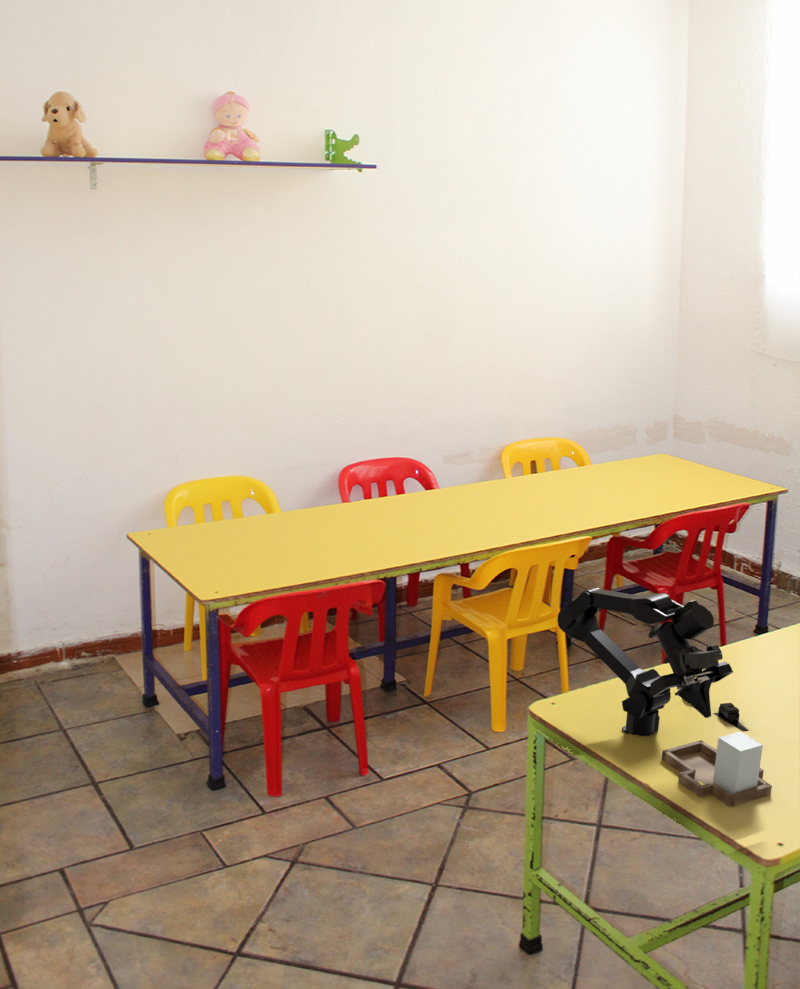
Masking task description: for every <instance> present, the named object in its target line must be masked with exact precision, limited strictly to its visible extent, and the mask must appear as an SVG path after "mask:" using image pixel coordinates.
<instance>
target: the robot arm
mask: <svg viewBox="0 0 800 989" xmlns="http://www.w3.org/2000/svg"><path fill="white" fill-rule="evenodd" d="M600 609H601V610H607V611H613V612H617V613H623V614H627V615H631V616H632V617H633V618H634V619H635V620H637V621H639V622H642V623H645V624H647V625H651V627H650V628H651V629H650V631H649V633H648V638H649V639H653V638H657V639H658V642H659V644H660V647H661V649H662V650H663V653H664V655H665V658H664V659H663V662H664V664H666V665H667V664H669V667H670V668H671V670H672V673H669V674H663V675H660V673H658V671H657V670H656V669H655V668H650V669H648V670H643V669H642V668H640V667H639V666H638V664H636V662H634V661H633V660H632V658H631V657H629V656H628V654H626V653H625V652H624V651H623V650H622V649H621V648H620V647H619V646H618V645H617V644H616V643H615V642H614V641H613V640H612V639H611V638H610V637H609V636H608V635H607V634H606V633H605V632H604V631H603V630H602V629H601V628H600V625H599V621H598V617H597V616H596V615H597V614H598V613H599V611H600ZM670 620H671V621H670ZM656 623H660V624H656ZM714 623H715V619H714V616H713V614H712V612H711V611H710V610H709V609H708V608H707V607H705V606H704V605H702V604H700V603H698V601H697V600H696V599H693V600H690V601H688V602H687V603H685V605H682V604H680V603H678V602H677V601H675V600H673V599H671V596H670V595H669V594H667V593H664V592H663V593H661V592H660V593H648V594H641V595H640V594H639V595H637V594H631V593H624V592H619V591H614V590H607V589H602V588H600V587H592V588H589V589H585V590H583V591H581V593H580V594H579V595H577V597H576V598H575V599H574V600H572V602H570V603H569V604H568V605H567V606H566V607H564V608H563V609H561V610H560V611H559V612H558V613H557V626H558V628H559V629H560V630H561V631H562V632H563V633H564V634H566V635H567V636H568V637H570V638H572V639H574V640H577V641H579V642H582V643H584V644H585V645H586V646H587V647H588V648H589V649H590V650H591V651H592V652H593V653H594V654H595V655H596V656H597V657H598V658H599V660H600V661H602V662H603V663H604V664H605V665H606V667H608V669H610V670H611V671H612V672H613V673H614V675H616V676H617V677H618V678H619V679H620V681H622V683H623V684H624V685H625V689H626V692H627V698H626V699H624V700H622V701H621V705H622V710H623V712H626V719H625V720H626V723H625V726H621V730H622V731H623V732H624V733H625V734H626V735H633V736H640V737H648V736H651V735H653V734H654V733H656V732H658V731H659V729H660V728H659V726H660V718H661V716H660V715H659V713H660V711H659V710H662V709H664V707H665V706H666V705H667V704H669V703H670V701H671V696H672V693H671V688H676V690H677V691H676V692H675V693H674V696H676V697H677V696H678V697H680V698H681V699H683V700H684V701H685V702H686V703H687V704H689V705H690V706H691V707H692V708H694V709H695V710H696V711H697V712H698V713H699V714H701V715H702V716H703V718H705V719H709V718H710V717H712V710H711V709H712V708H711V700H710V699H711V698H710V689H711V686H712V684H715V683H717V682H720V681H721V680H723V679H725V678H726V677H728V676H730V675H731V674H733V673H734V671H733V669H732V666H731V664H730V663H729V662H727V661H722V662H719V661H721V660H723V658H724V657H723V653H722V650H721V648H720V647H719V645H718V644H711V645H708V646H706V650H704V651H699V648H698V647H697V646H696V645H692V646H691V643H690V641H689V640H693V639H696V638H697V637H698V636H700V635H702V634H703V633H706V632H707V631H709V630H710V629H711V628H713V627H714V625H715V624H714ZM654 624H655V625H654Z"/></svg>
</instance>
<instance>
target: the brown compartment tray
mask: <svg viewBox="0 0 800 989" xmlns="http://www.w3.org/2000/svg"><path fill="white" fill-rule="evenodd" d="M661 752H662V754H661V760H662V761H663V762H665V763H666V764H668V765H670V766H671V767H672V768H674V769H675V770H677V771H678V772H679V773H678V782H677V783H680V785H682V786H684V787H685V788H686V789H687V790H689V791H691V792H692V793H693V794H695V795H696V796H698V797H699V798H700V799H702V798H705V797H710V796H713V797H715V798H716V799H718V800H719V801H721V802H722V803H724V804H725V805H726V806H728V807H729V808H732V807H733V808H734V807H735V806H739V805H742V804H745V803H749V802H751V801H755V800H758V799H761V798H763V797H764V798H765V797H767V796H770V795H771V794H772V788H773V786H772V784H770V783H769V782H768V781H765V780H764V779H763V777H764V770H765V769H763V768H761V767H760V769H759V776H758V783H757V787H754V788H751V789H747V790H744V791H741V792H738V793H734V794H730V793H729V792H727V791H726V790H724V789H723V788H721V787H720V786H719V785H717V784H716V783H714V784H713V777H714V769H715V761H716V753H717V748H714V747H712V746H711V745H709V744H708V743H707V742H704V741H703V740H702V739H700V740H696V741H693V742H689V743H686V744H682V745H677V746H674V747H671V748H666V749H663V750H662V751H661ZM700 782H701V783H703V784H701V783H700Z"/></svg>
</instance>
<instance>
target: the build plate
mask: <svg viewBox="0 0 800 989" xmlns="http://www.w3.org/2000/svg"><path fill="white" fill-rule="evenodd" d="M712 714H713V715H715V716H716V717H718V718H719V719H721V720H723V721H724V722H726V723H727V724H729V725H731V726H732V727H734V728H737V729H738V730H739V731H740V732H749V731H750V730H749V729H748V728H747V727H746V726H744V725H743V724H742V723H741V722H740V721H739V720H740V709H739V708H738V707H737V706H735V705H734V704H733V703H732V702H725V703H719V706H718V712H712Z"/></svg>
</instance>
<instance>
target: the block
mask: <svg viewBox="0 0 800 989" xmlns="http://www.w3.org/2000/svg"><path fill="white" fill-rule="evenodd" d="M763 746H764V745H763V744H762V743H760V742H758V741H756V739H753V738H752V737H750V736H749V735H747V734H746V733H745V732H744V733H743V731H737V732H734V733H730V734H725V735H722V736H719V737H718V739H717V747H716V750H717V753H716V761H715V769H714V777H713V784H714V783H716V784H717V785H719V786H720V787H721V788H723V789H724V790H726V791H727V792H729V793H730V794H734V793H738V792H741V791H744V790H747V789H751V788H754V787H757V783H758V776H759V769H760V768H761V761H762V754H763Z"/></svg>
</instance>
